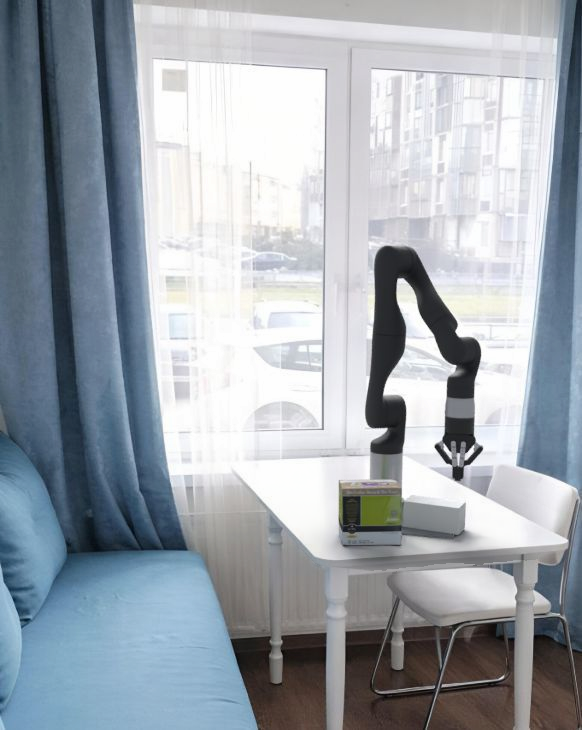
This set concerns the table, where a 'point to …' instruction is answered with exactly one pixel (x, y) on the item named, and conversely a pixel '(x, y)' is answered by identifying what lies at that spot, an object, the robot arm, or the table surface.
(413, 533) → the mat
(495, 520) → the table surface
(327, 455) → the table surface
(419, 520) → the milk carton
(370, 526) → the tea box
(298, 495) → the table surface
